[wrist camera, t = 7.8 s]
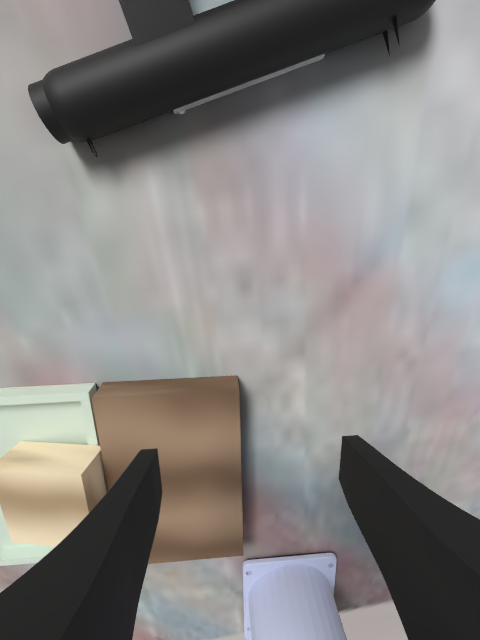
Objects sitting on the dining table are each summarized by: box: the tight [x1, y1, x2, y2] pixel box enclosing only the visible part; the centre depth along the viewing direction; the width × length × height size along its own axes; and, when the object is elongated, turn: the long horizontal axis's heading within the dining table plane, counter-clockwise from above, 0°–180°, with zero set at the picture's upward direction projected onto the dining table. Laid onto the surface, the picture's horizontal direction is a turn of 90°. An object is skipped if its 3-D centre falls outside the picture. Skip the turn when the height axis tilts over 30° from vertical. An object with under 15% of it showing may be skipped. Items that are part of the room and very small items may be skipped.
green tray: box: [0, 383, 100, 566], centre depth 22 cm, size 14×10×1 cm
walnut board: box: [91, 376, 243, 564], centre depth 22 cm, size 14×9×2 cm, turn 1°
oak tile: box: [0, 441, 108, 547], centre depth 20 cm, size 6×6×2 cm
